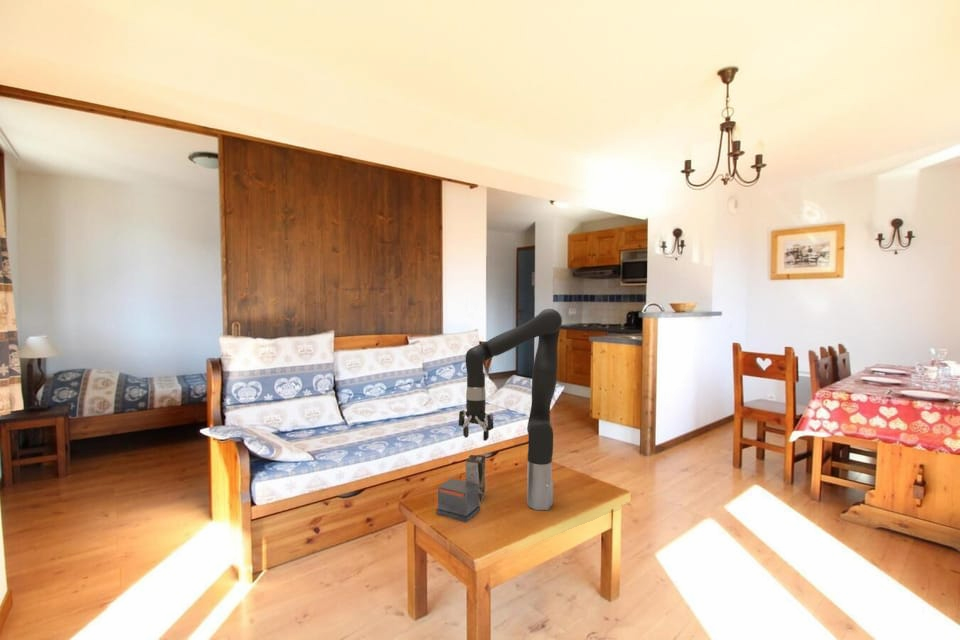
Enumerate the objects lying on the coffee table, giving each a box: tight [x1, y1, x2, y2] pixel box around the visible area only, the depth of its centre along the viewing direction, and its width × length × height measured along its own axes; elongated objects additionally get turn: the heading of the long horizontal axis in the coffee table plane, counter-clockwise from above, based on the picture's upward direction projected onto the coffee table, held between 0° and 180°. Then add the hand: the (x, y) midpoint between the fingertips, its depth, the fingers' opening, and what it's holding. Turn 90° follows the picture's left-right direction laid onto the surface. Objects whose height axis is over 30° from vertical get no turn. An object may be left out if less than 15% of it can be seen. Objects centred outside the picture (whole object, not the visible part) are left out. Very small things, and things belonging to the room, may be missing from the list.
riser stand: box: [435, 477, 481, 523], centre depth 166 cm, size 13×10×10 cm
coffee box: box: [465, 454, 486, 505], centre depth 177 cm, size 9×6×16 cm
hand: (475, 438), depth 176 cm, fingers open, 8 cm apart
